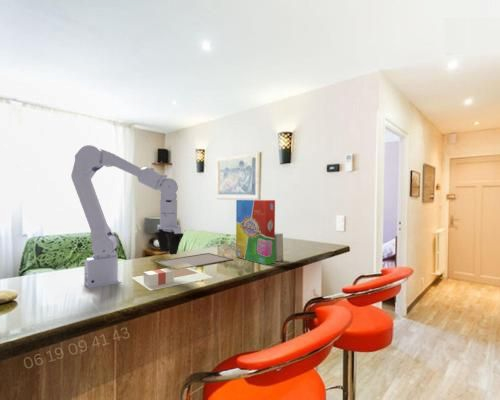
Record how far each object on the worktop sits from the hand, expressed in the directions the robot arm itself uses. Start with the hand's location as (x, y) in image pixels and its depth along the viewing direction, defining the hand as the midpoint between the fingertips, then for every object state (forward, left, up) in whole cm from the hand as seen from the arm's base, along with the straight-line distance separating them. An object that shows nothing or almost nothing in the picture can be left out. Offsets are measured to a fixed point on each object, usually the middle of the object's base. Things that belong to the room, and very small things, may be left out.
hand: (168, 252), depth 97 cm
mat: (+1, -1, -9) cm, 9 cm away
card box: (-5, -4, -9) cm, 11 cm away
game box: (+42, +3, -9) cm, 43 cm away
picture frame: (+20, +18, -10) cm, 29 cm away
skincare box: (+49, -3, -9) cm, 50 cm away
